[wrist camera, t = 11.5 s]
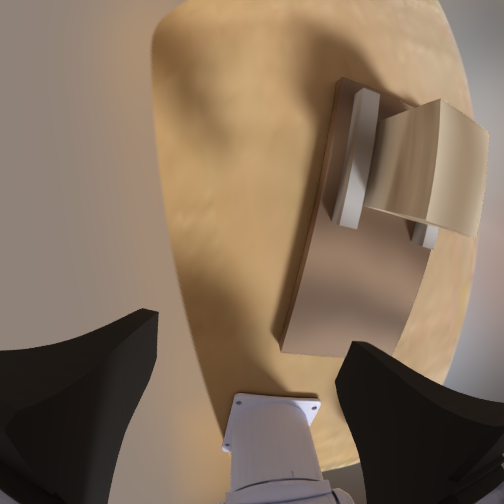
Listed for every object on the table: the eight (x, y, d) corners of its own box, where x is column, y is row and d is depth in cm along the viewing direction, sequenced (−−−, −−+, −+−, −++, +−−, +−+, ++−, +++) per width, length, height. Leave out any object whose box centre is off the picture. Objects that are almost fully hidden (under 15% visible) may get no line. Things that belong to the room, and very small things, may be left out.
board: (384, 351, 21) (397, 368, 19) (278, 343, 20) (283, 364, 18) (441, 129, 17) (462, 125, 14) (336, 82, 16) (350, 69, 13)
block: (421, 141, 16) (488, 132, 9) (408, 219, 17) (475, 239, 10) (377, 122, 16) (440, 98, 9) (362, 205, 17) (425, 220, 10)
